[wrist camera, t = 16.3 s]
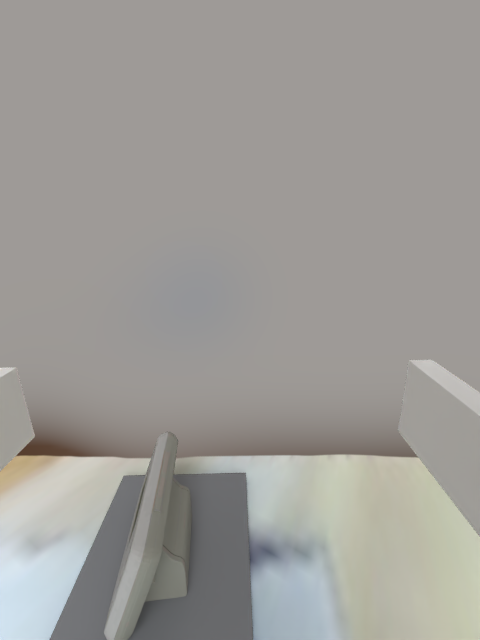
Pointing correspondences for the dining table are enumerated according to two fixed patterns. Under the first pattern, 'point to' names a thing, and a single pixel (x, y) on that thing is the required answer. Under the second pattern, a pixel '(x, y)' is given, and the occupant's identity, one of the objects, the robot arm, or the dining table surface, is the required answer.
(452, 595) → the dining table surface
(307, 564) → the dining table surface
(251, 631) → the docking pad
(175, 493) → the digital clock
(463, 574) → the dining table surface
